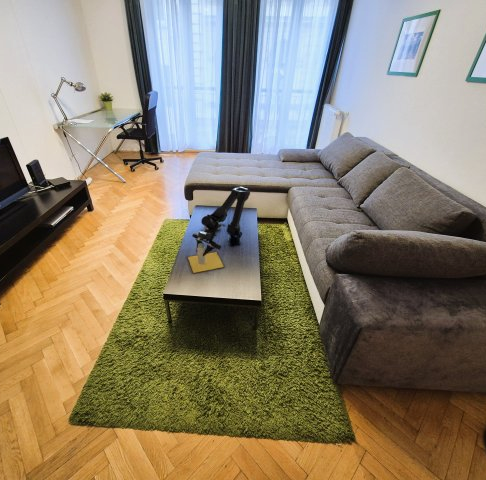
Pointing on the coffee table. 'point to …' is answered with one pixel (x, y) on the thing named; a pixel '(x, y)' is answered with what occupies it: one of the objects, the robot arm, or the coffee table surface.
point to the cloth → (211, 263)
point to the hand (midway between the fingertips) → (199, 254)
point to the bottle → (201, 254)
